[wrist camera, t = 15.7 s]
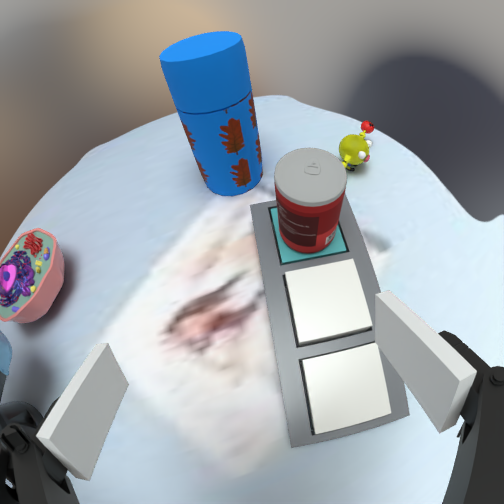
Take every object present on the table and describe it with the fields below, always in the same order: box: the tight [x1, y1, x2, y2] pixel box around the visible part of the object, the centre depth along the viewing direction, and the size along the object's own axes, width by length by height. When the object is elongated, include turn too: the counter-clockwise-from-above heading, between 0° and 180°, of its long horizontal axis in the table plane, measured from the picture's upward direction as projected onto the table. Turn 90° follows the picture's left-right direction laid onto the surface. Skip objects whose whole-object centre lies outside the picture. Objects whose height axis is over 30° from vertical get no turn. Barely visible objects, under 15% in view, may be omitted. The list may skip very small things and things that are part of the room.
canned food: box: [274, 148, 347, 254], centre depth 33 cm, size 8×8×11 cm
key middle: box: [285, 259, 372, 347], centre depth 33 cm, size 8×8×4 cm
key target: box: [271, 208, 346, 265], centre depth 39 cm, size 8×8×4 cm
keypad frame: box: [250, 194, 410, 448], centre depth 34 cm, size 14×32×4 cm, turn 8°
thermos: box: [159, 31, 262, 196], centre depth 38 cm, size 11×11×25 cm
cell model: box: [0, 228, 64, 323], centre depth 39 cm, size 17×20×11 cm
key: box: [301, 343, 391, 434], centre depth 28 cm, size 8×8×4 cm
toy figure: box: [339, 121, 374, 171], centre depth 44 cm, size 18×6×7 cm, turn 145°
